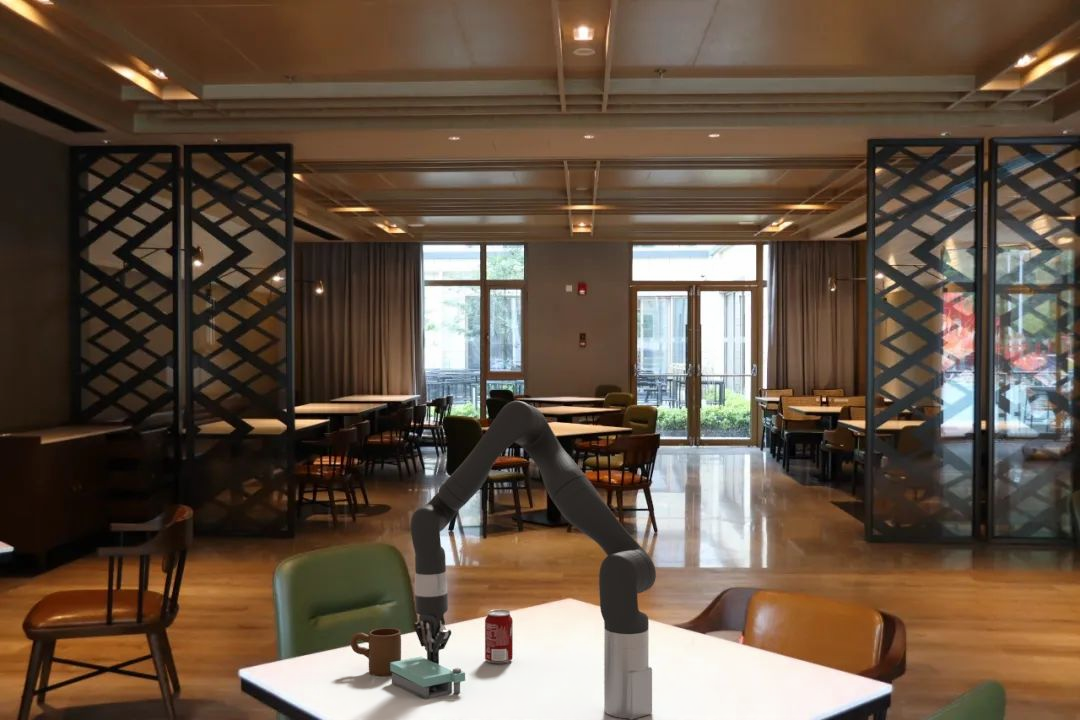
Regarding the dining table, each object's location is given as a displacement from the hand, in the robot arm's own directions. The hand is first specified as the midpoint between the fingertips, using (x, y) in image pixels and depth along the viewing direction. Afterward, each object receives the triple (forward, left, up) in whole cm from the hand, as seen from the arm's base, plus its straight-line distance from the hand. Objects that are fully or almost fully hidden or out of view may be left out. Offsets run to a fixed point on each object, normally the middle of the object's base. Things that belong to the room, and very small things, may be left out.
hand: (433, 666), depth 223 cm
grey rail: (-5, +5, -3) cm, 7 cm away
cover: (-4, +4, 0) cm, 6 cm away
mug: (+13, +8, -3) cm, 15 cm away
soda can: (+1, -20, -3) cm, 20 cm away
